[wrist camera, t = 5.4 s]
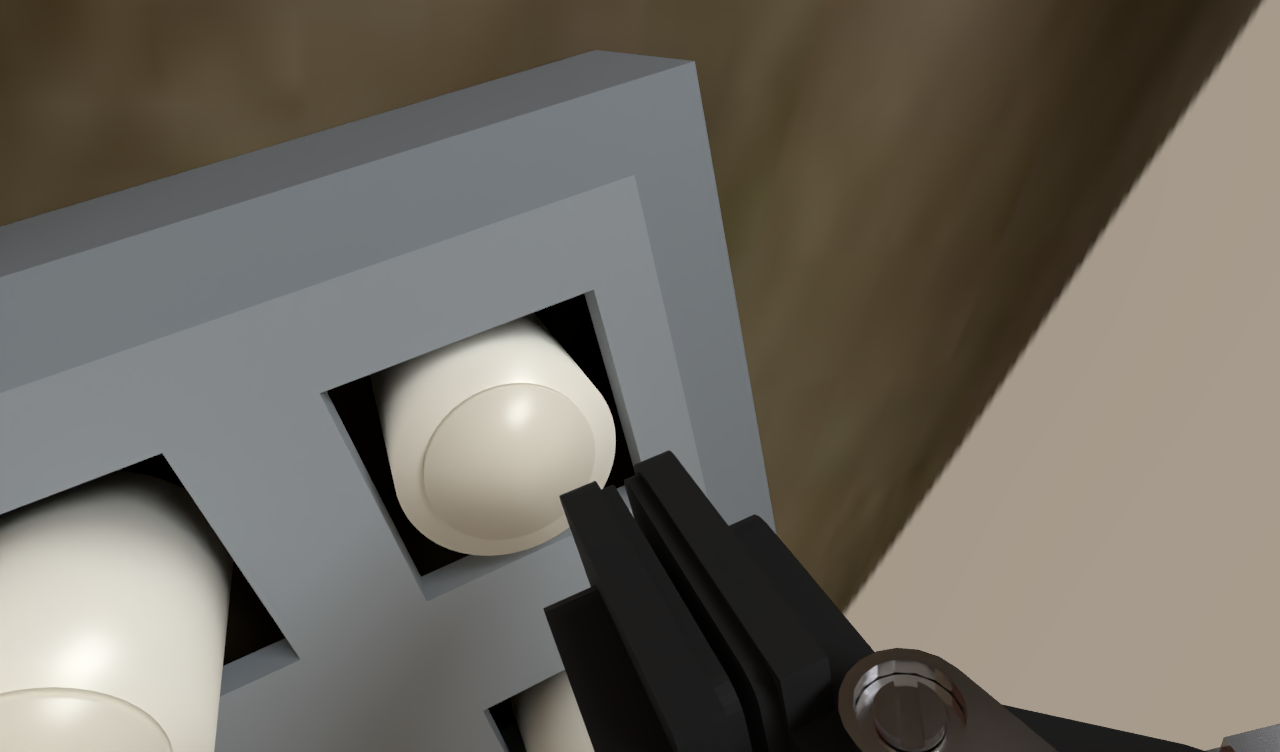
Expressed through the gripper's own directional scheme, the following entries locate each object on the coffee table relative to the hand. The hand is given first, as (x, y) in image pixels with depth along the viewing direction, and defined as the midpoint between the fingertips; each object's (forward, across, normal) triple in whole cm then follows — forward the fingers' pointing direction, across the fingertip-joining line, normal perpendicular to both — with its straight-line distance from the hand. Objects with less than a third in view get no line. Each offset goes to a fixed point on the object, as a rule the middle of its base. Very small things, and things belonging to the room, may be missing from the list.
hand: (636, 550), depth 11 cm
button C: (+6, +9, 0) cm, 10 cm away
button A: (+9, +1, +1) cm, 9 cm away
